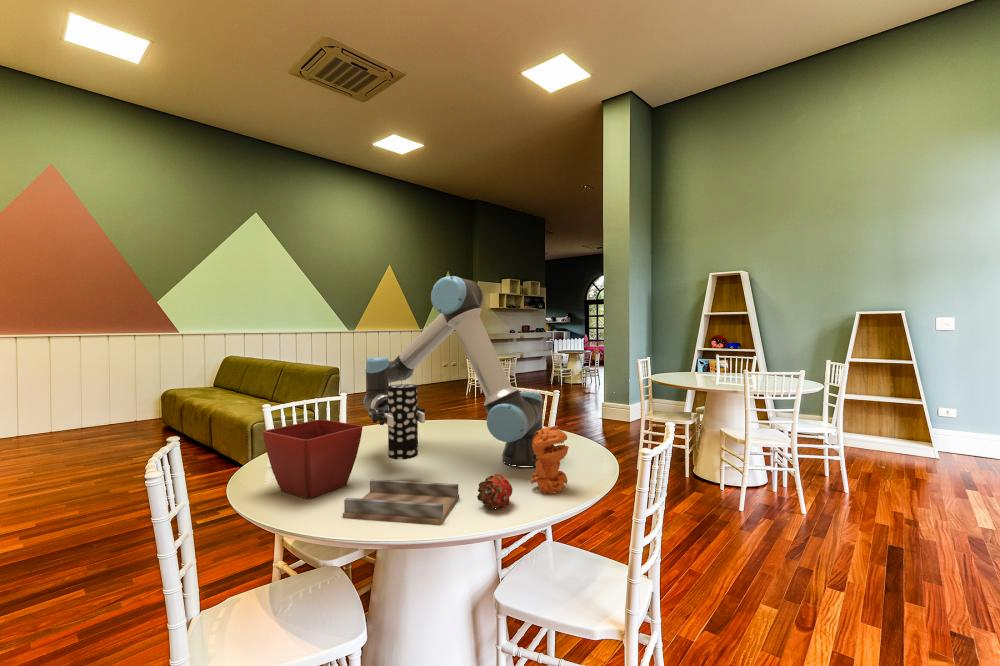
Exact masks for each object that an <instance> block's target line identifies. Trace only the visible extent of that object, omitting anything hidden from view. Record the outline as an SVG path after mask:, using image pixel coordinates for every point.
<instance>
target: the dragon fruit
mask: <svg viewBox="0 0 1000 666" xmlns="http://www.w3.org/2000/svg"><path fill="white" fill-rule="evenodd" d="M477 492H478V494H477V495H476V498H477V500H478V501H480V502H482V504H483V505H485V506H487V507H488V508H490V509H492V510H494V509H495V508H496V510H498V509H499V508H500V506H501V507H505V506H506V507H508V506H509V504H510V497H511V496H512V495H513V486H512V484H511V483H510V482H509V480H507V478H505V477H504V476H503V475H502V474H500V473H495V474H494V475H489V476H487V477H486V478H485V480H484V481H481V482H479V483H478V489H477Z"/></svg>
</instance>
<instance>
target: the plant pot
mask: <svg viewBox="0 0 1000 666" xmlns="http://www.w3.org/2000/svg"><path fill="white" fill-rule="evenodd" d="M363 428H364V427H363V425H358V424H352V423H347V422H342V421H336V420H335V421H334V420H329V419H322V418H320V419H319V418H318V419H313V420H309V421H304V422H300V423H294V424H289V425H286V426H284V425H283V426H281V427H275V428H270V429H266V430H263V431H262V434H263V435H262V436H263V440H264V447H265V450H266V454H267V457H268V462H269V464H270V468H271V470H272V473H273V476H274V478H275V480H276V483H277V485H278V486H279V490H281V491H282V492H285V493H288V494H292V495H294V494H295V496H298V497H301V496H302V497H301V498H304V497H305V498H304V499H313V498H315V496H316V497H318V496H321V495H324V494H327V493H329V492H332V491H334V490H337V489H339V488H341V487H345V486H347V483H348V482H349V479H350V476H351V474H352V471H353V468H354V465H355V462H356V459H357V455H358V452H359V447H360V444H361V443H360V442H361V439H362V432H363ZM312 497H313V498H312Z"/></svg>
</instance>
